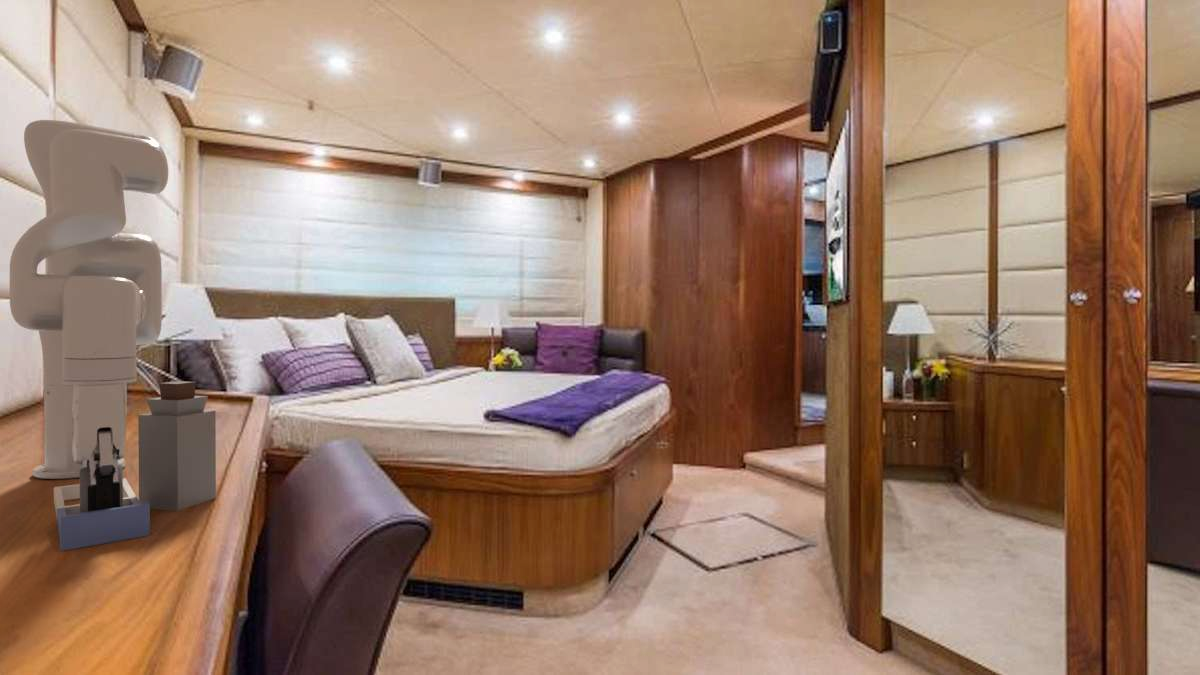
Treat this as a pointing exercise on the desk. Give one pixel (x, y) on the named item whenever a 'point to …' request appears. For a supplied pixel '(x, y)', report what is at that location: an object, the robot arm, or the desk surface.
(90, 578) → the desk surface
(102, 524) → the blue-fronted open tray
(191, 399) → the perfume bottle
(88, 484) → the grey two-tone upright block
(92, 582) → the desk surface
